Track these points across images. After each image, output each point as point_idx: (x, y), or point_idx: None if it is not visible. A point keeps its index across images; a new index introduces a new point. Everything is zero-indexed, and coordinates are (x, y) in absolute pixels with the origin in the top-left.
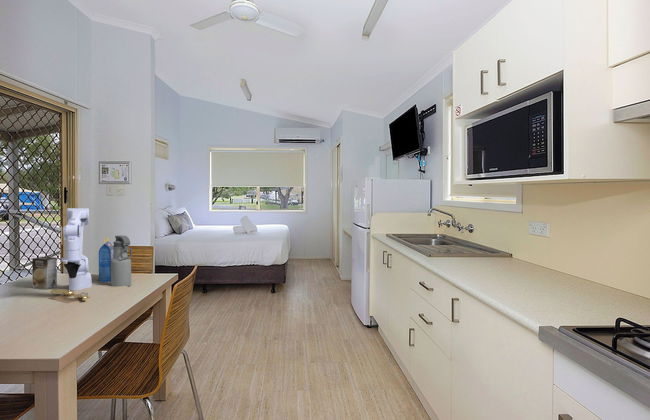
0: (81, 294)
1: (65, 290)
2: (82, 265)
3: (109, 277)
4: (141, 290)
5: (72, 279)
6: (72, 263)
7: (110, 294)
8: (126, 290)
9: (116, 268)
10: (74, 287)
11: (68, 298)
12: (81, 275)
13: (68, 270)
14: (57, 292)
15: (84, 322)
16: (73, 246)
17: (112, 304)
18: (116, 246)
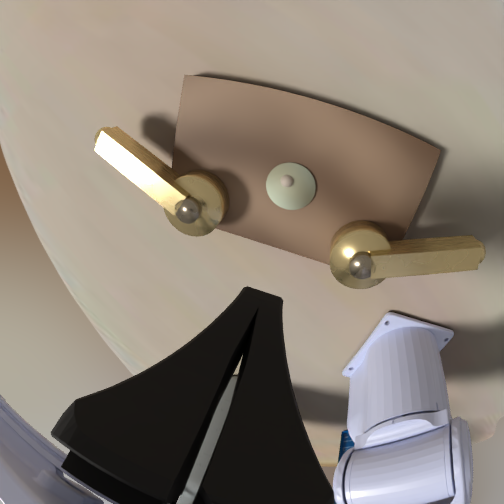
0: (157, 175)
1: (381, 255)
2: (359, 486)
3: (346, 443)
4: (132, 345)
5: (416, 386)
6: (109, 482)
7: (178, 303)
8: (176, 350)
9: (206, 455)
10: (399, 345)
11: (281, 163)
12: (370, 422)
13: (242, 380)
14: (437, 242)
15: (12, 21)
16: None
17: (52, 175)
18: None
